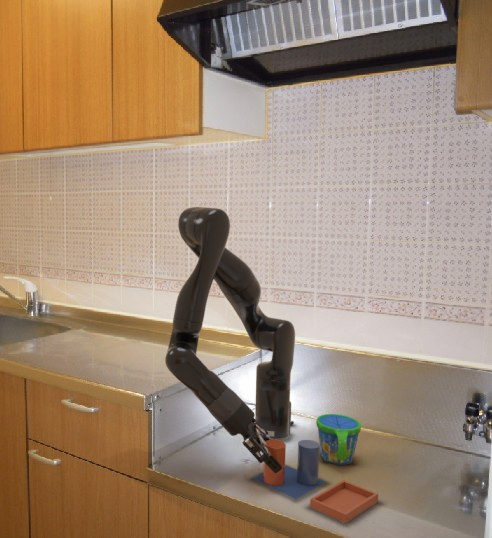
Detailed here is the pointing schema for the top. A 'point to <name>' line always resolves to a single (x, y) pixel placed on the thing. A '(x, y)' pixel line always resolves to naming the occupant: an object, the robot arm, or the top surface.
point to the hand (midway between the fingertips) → (278, 462)
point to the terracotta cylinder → (278, 453)
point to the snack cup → (337, 438)
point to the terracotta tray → (344, 501)
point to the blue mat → (290, 484)
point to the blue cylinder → (308, 462)
